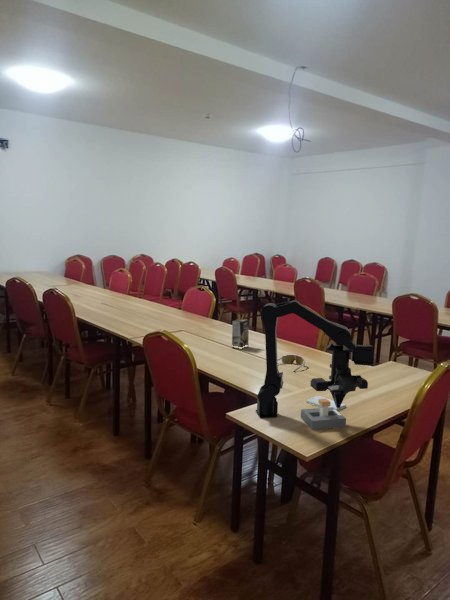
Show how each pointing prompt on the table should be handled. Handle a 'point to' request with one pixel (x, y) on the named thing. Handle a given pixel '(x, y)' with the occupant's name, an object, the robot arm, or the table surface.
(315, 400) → the hard drive
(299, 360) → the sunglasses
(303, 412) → the breaker panel
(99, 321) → the table surface
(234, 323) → the coffee box
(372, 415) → the table surface
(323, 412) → the lever
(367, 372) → the table surface
